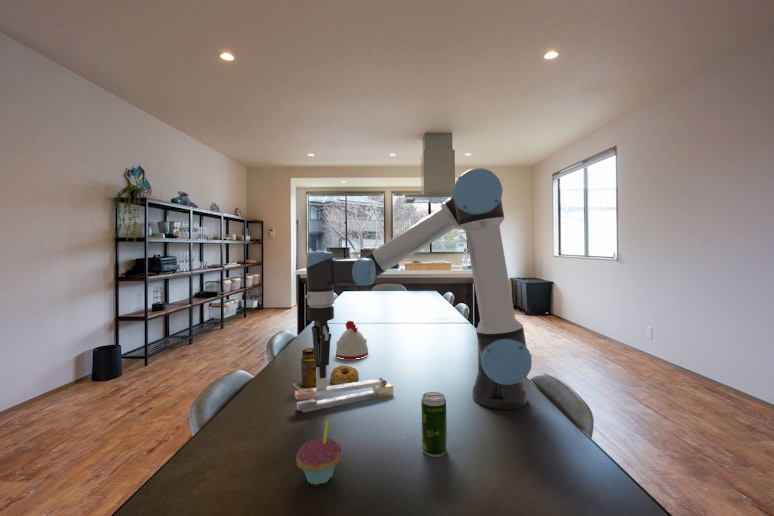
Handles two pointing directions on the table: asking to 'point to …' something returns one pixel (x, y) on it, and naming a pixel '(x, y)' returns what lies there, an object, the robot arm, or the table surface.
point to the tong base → (346, 398)
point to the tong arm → (339, 388)
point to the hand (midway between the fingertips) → (321, 387)
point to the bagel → (344, 375)
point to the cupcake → (319, 458)
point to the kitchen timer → (351, 343)
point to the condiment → (307, 370)
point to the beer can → (434, 424)
